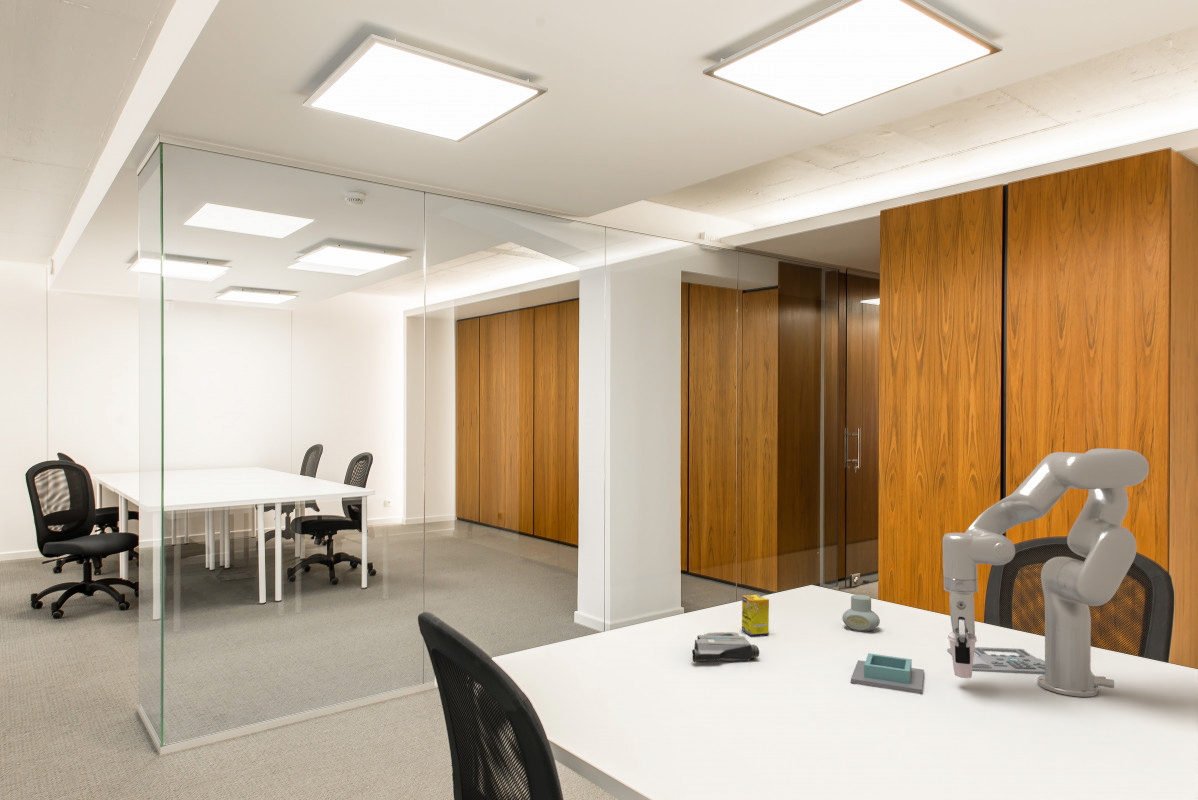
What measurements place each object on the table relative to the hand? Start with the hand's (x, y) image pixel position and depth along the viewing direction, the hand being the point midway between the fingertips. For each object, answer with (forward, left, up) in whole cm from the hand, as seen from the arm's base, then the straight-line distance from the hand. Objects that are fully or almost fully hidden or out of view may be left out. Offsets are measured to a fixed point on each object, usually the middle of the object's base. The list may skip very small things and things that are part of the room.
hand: (962, 658), depth 184 cm
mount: (+17, +1, -7) cm, 18 cm away
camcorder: (+59, +3, -7) cm, 60 cm away
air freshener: (+28, -43, -7) cm, 51 cm away
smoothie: (0, 0, -4) cm, 4 cm away
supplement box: (+56, -22, -7) cm, 60 cm away
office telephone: (-9, -28, -8) cm, 30 cm away
